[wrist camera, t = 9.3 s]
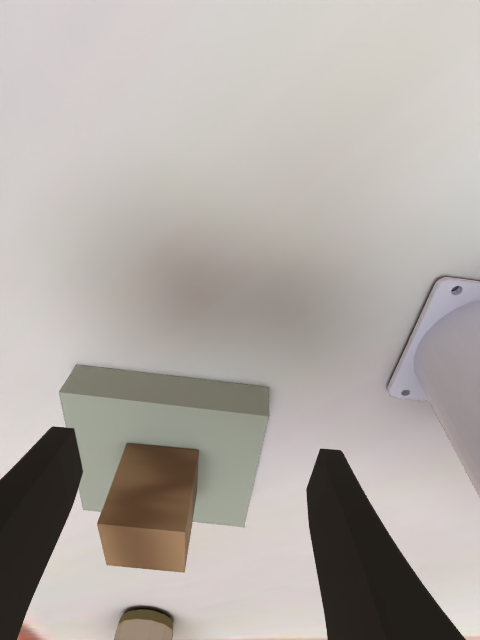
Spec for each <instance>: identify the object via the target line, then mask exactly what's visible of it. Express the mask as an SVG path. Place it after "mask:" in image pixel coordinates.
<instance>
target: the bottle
mask: <svg viewBox="0 0 480 640" xmlns="http://www.w3.org/2000/svg"><path fill="white" fill-rule="evenodd" d="M172 637H173V622H172V620H171V619H170V618H169V617H167V616H166V615H164V614H162V613H161V612H158V611H154V610H149V609H139V610H133V611H128V612H126V613H125V614H124V615H122V617H121V619H120V621H119V624H118V627H117V630H116V634H115V638H114V640H172Z"/></svg>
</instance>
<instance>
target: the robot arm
mask: <svg viewBox="0 0 480 640" xmlns="http://www.w3.org/2000/svg"><path fill="white" fill-rule="evenodd" d="M455 286H459V288H458V289H457V290H455V291H451V290H452V289H453V288H454V287H455ZM387 390H388V392H389V395H390V396H392V397H397V398H405V399H413V400H421V401H429V402H430V404H431V406H432V407H433V409H434V411H435V413H436V415H437V417H438V419H439V421H440V423H441V425H442V427H443V429H444V430H445V432H446V434H447V436H448V438H449V440H450V442H451V444H452V446H453V448H454V450H455V452H456V453H457V455H458V457H459V459H460V461H461V463H462V465H463V467H464V469H465V471H466V473H467V475H468V476H469V478H470V480H471V482H472V484H473V486H474V488H475V490H476V492H477V494H478V496H479V498H480V281H474V280H466V279H459V278H451V277H444V278H441V279H439V280H438V281H437V282H436V283H435V285H434V287H433V289H432V291H431V293H430V295H429V298H428V300H427V302H426V304H425V306H424V309H423V311H422V313H421V315H420V317H419V319H418V322H417V324H416V326H415V328H414V330H413V332H412V335H411V337H410V339H409V341H408V343H407V346H406V348H405V350H404V352H403V354H402V356H401V359H400V361H399V363H398V365H397V367H396V370H395V372H394V374H393V376H392V378H391V380H390V383H389V385H388V387H387ZM403 390H406V391H403ZM82 474H83V468H82V463H81V458H80V453H79V449H78V444H77V439H76V434H75V430H74V428H64V427H52V428H50V429H49V430H48V431H47V432H46V433H45V434H44V435H43V436H42V438H41V439H40V440H39V441H38V442H37V443H36V444H35V445H34V446H33V447H32V448H31V449H30V450H29V451H28V452H27V453H26V454H25V455H24V456H23V457H22V458H21V460H20V461H19V462H18V463H17V464H16V465H15V466H14V467H13V468H12V469H11V470H10V471H9V472H8V473H7V474H6V475H5V476H4V477H3V478H2V479H1V480H0V640H17V638H18V635H19V632H20V629H21V626H22V624H23V621H24V618H25V615H26V612H27V610H28V607H29V605H30V602H31V600H32V597H33V595H34V593H35V590H36V588H37V586H38V584H39V581H40V579H41V577H42V575H43V572H44V570H45V568H46V566H47V563H48V561H49V559H50V557H51V554H52V552H53V550H54V548H55V545H56V543H57V541H58V539H59V536H60V534H61V532H62V529H63V527H64V525H65V523H66V520H67V518H68V516H69V513H70V511H71V509H72V506H73V503H74V500H75V497H76V494H77V491H78V487H79V484H80V481H81V478H82ZM307 505H308V519H309V528H310V534H311V540H312V546H313V552H314V557H315V563H316V569H317V574H318V580H319V585H320V591H321V597H322V602H323V608H324V614H325V621H326V628H327V636H328V640H466V639H465V638H464V637H463V636H462V635H461V633H460V632H459V631H458V629H457V628H456V627H455V626H454V624H453V623H452V622H451V621H450V619H449V618H448V617H447V615H446V614H445V613H444V612H443V610H442V609H441V608H440V606H439V605H438V604H437V602H436V601H435V600H434V598H433V597H432V596H431V594H430V593H429V592H428V590H427V589H426V588H425V586H424V585H423V584H422V582H421V581H420V579H419V578H418V577H417V575H416V574H415V572H414V571H413V569H412V568H411V566H410V565H409V564H408V562H407V561H406V559H405V558H404V556H403V555H402V553H401V552H400V550H399V549H398V547H397V546H396V544H395V542H394V541H393V539H392V538H391V536H390V535H389V533H388V531H387V530H386V528H385V527H384V525H383V523H382V522H381V520H380V518H379V517H378V515H377V513H376V512H375V510H374V509H373V507H372V505H371V503H370V502H369V500H368V498H367V496H366V495H365V493H364V491H363V489H362V488H361V486H360V484H359V482H358V480H357V479H356V477H355V475H354V473H353V471H352V469H351V467H350V465H349V464H348V462H347V460H346V458H345V456H344V454H343V452H342V451H341V450H331V449H320V451H319V454H318V457H317V460H316V463H315V466H314V469H313V472H312V474H311V477H310V480H309V483H308V486H307Z"/></svg>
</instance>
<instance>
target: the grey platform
mask: <svg viewBox="0 0 480 640" xmlns="http://www.w3.org/2000/svg"><path fill="white" fill-rule="evenodd" d="M59 395H60V400H61V405H62V410H63V415H64V420H65V424H66V428H74V430H75V434H76V439H77V444H78V449H79V453H80V458H81V463H82V468H83V474H82V478H81V481H80V484H79V492H80V497H81V502H82V507H83V510H89V511H98V512H102V509H103V506H104V504H105V501H106V498H107V495H108V493H109V490H110V487H111V484H112V482H113V479H114V476H115V473H116V471H117V468H118V465H119V463H120V460H121V457H122V454H123V452H124V449H125V446H126V443H133V444H143V445H153V446H163V447H173V448H183V449H194V450H199V459H198V482H197V495H196V502H195V508H194V515H193V521H192V522H200V523H209V524H218V525H228V526H237V527H244V525H245V521H246V516H247V512H248V507H249V503H250V499H251V494H252V490H253V485H254V481H255V476H256V472H257V468H258V463H259V459H260V454H261V450H262V445H263V441H264V437H265V432H266V428H267V423H268V419H269V395H268V387H265V386H256V385H248V384H239V383H230V382H222V381H213V380H205V379H196V378H188V377H179V376H171V375H162V374H154V373H145V372H137V371H128V370H120V369H111V368H102V367H94V366H85V365H76V366H75V368H74V369H73V371H72V372H71V374H70V376H69V377H68V379H67V380H66V382H65V383H64V385H63V386H62V388H61V390H60V391H59Z"/></svg>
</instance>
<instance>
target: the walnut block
mask: <svg viewBox="0 0 480 640" xmlns="http://www.w3.org/2000/svg"><path fill="white" fill-rule="evenodd" d="M198 459H199V450H194V449H183V448H173V447H163V446H153V445H143V444H133V443H126V446H125V449H124V452H123V454H122V457H121V460H120V463H119V465H118V468H117V471H116V473H115V476H114V479H113V482H112V484H111V487H110V490H109V493H108V495H107V498H106V501H105V504H104V506H103V509H102V512H101V515H100V517H99V520H98V523H97V526H98V530H99V534H100V539H101V543H102V547H103V551H104V556H105V560H106V564H107V565H111V566H122V567H132V568H142V569H153V570H163V571H174V572H184V573H185V566H186V560H187V553H188V547H189V540H190V534H191V527H192V521H193V515H194V508H195V502H196V495H197V482H198Z"/></svg>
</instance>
